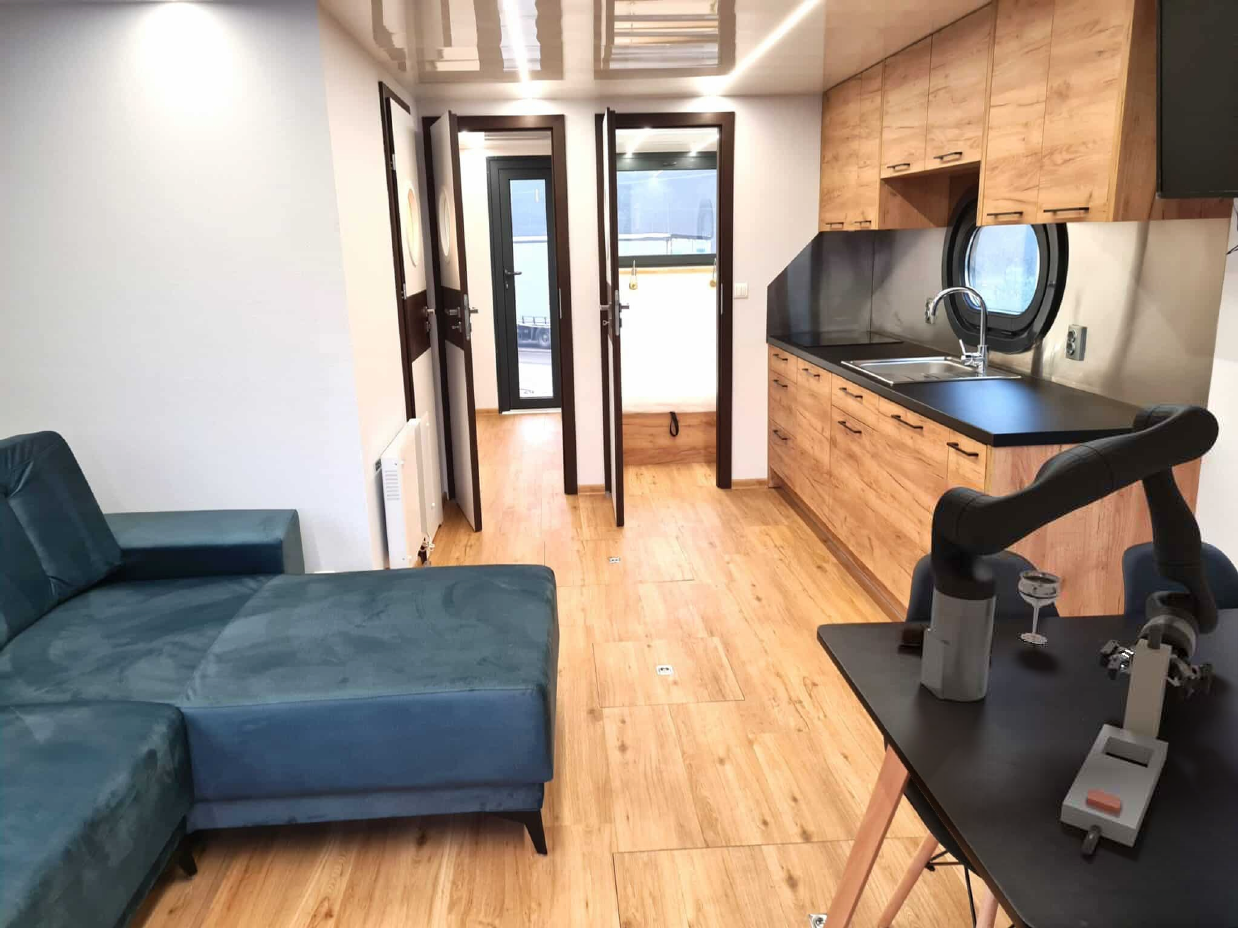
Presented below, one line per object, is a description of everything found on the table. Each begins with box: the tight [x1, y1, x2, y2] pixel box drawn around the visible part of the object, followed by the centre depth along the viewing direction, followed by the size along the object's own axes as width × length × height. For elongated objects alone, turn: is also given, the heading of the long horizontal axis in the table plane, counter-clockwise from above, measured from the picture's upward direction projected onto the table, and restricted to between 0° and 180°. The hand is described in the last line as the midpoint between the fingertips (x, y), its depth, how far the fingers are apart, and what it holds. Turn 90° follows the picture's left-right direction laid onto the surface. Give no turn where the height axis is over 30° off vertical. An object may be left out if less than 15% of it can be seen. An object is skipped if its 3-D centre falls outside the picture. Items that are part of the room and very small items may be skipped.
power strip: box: [1059, 723, 1169, 856], centre depth 116 cm, size 29×8×3 cm, turn 141°
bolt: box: [900, 622, 994, 657], centre depth 158 cm, size 6×5×15 cm
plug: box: [1122, 625, 1172, 739], centre depth 129 cm, size 4×4×17 cm
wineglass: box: [1017, 570, 1062, 645], centre depth 161 cm, size 7×7×12 cm
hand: (1146, 684), depth 128 cm, fingers open, 8 cm apart
